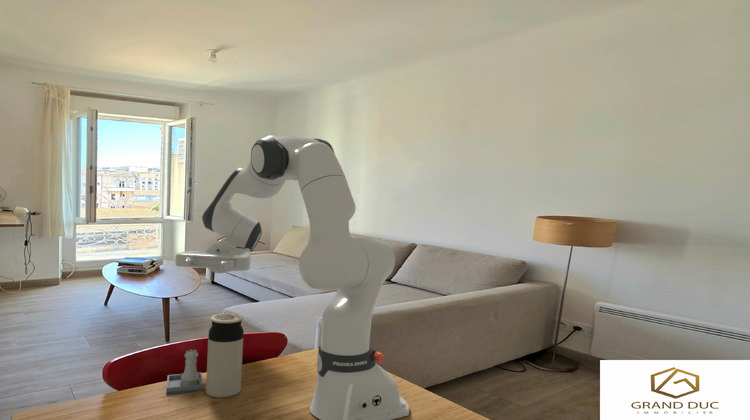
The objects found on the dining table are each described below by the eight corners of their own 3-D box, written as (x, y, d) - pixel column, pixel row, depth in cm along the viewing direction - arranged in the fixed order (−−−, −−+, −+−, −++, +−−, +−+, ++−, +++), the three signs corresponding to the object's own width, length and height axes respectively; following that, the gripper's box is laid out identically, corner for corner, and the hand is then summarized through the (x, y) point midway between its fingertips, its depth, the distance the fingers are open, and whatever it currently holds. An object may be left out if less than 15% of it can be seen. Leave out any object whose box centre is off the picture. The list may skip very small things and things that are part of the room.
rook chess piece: (200, 379, 120) (202, 347, 120) (198, 386, 116) (200, 353, 115) (181, 380, 119) (183, 348, 119) (178, 387, 115) (180, 354, 114)
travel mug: (206, 400, 110) (210, 322, 109) (205, 386, 117) (208, 313, 117) (242, 396, 113) (246, 320, 112) (238, 383, 120) (242, 312, 120)
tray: (201, 378, 122) (201, 372, 122) (202, 390, 115) (203, 384, 115) (167, 381, 119) (167, 375, 119) (166, 394, 112) (166, 387, 112)
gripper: (185, 245, 142) (166, 250, 128) (255, 248, 142) (244, 254, 128) (184, 266, 142) (165, 274, 128) (254, 269, 142) (243, 278, 129)
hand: (205, 264), depth 128 cm, fingers open, 8 cm apart
